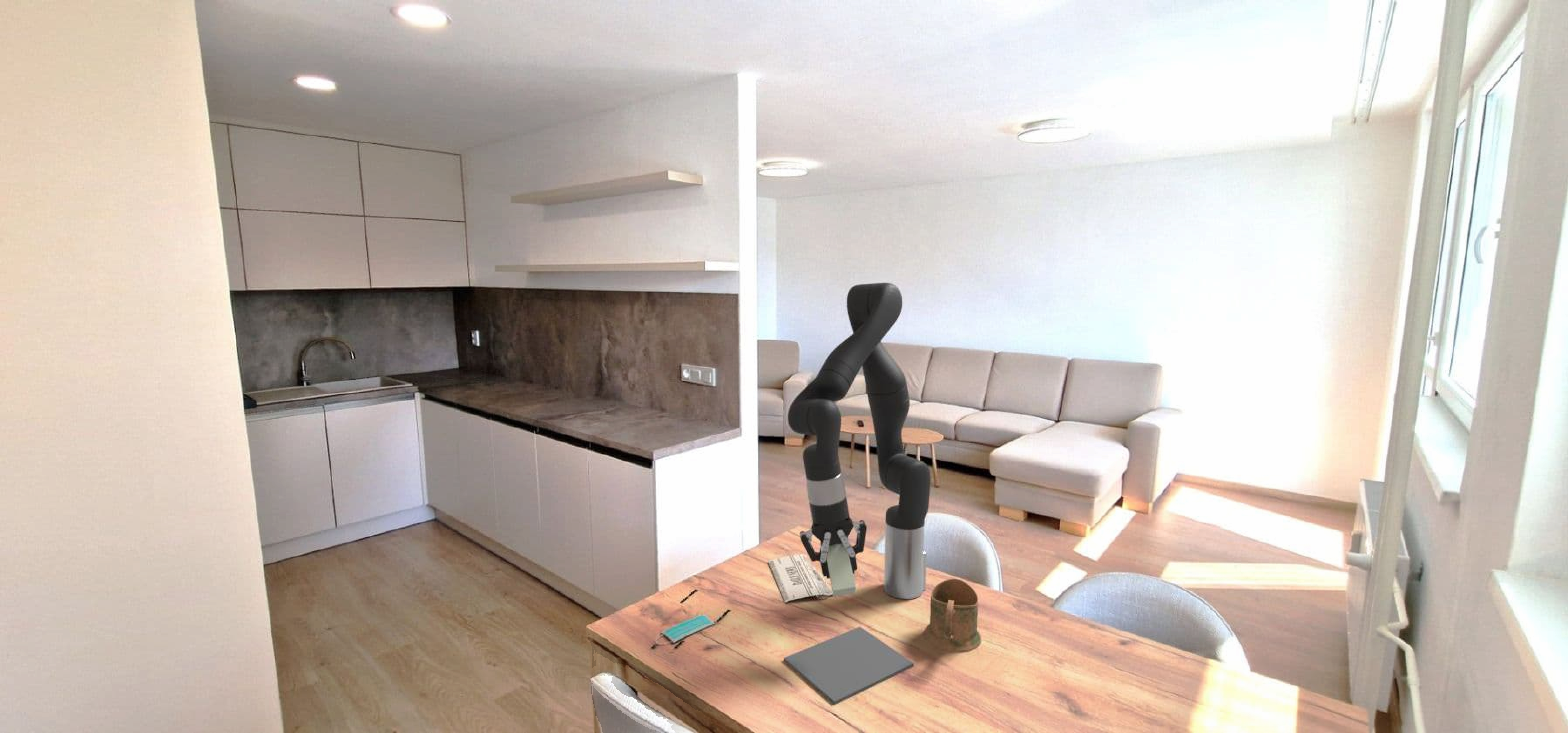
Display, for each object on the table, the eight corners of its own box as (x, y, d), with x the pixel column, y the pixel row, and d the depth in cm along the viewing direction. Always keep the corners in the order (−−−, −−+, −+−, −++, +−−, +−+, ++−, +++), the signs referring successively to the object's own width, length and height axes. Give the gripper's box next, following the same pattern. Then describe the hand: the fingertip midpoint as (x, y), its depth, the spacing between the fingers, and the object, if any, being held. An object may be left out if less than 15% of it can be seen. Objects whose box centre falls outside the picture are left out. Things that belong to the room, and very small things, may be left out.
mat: (859, 629, 140) (859, 626, 140) (913, 666, 127) (914, 663, 127) (783, 660, 129) (783, 658, 129) (834, 704, 116) (834, 701, 116)
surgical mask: (696, 587, 151) (733, 595, 147) (696, 604, 152) (734, 612, 147) (642, 631, 132) (684, 642, 128) (643, 651, 133) (684, 662, 129)
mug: (916, 662, 128) (918, 605, 126) (928, 617, 145) (930, 567, 143) (977, 674, 124) (980, 616, 122) (982, 627, 141) (985, 575, 139)
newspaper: (836, 600, 153) (835, 590, 153) (786, 611, 151) (784, 601, 151) (812, 558, 175) (811, 549, 175) (768, 567, 173) (767, 558, 173)
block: (833, 590, 126) (823, 541, 132) (833, 597, 129) (824, 548, 135) (855, 586, 126) (844, 537, 132) (855, 593, 130) (845, 545, 135)
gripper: (859, 483, 132) (871, 559, 135) (790, 495, 132) (804, 572, 135) (865, 496, 125) (878, 577, 128) (793, 509, 125) (807, 590, 128)
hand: (840, 574), depth 132 cm, fingers closed on block, 4 cm apart
